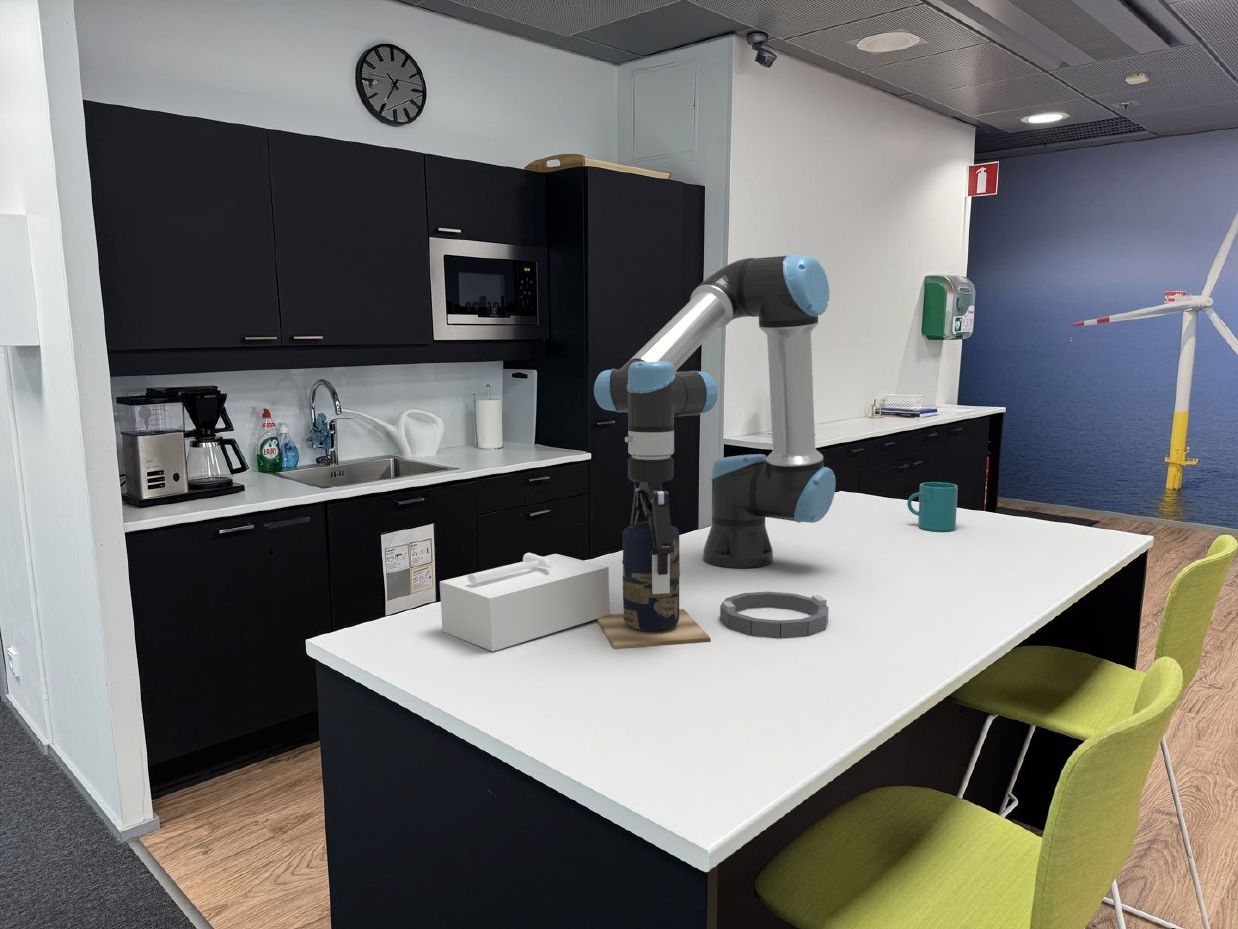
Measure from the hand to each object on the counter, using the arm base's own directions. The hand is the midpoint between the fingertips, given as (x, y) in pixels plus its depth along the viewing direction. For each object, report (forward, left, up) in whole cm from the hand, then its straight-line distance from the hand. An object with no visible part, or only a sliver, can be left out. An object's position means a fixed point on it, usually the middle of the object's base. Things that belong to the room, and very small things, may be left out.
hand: (650, 582), depth 152 cm
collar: (0, +22, -8) cm, 23 cm away
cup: (-63, +89, -8) cm, 109 cm away
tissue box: (-7, -20, -8) cm, 23 cm away
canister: (0, 0, -8) cm, 8 cm away
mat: (0, 0, -8) cm, 8 cm away
